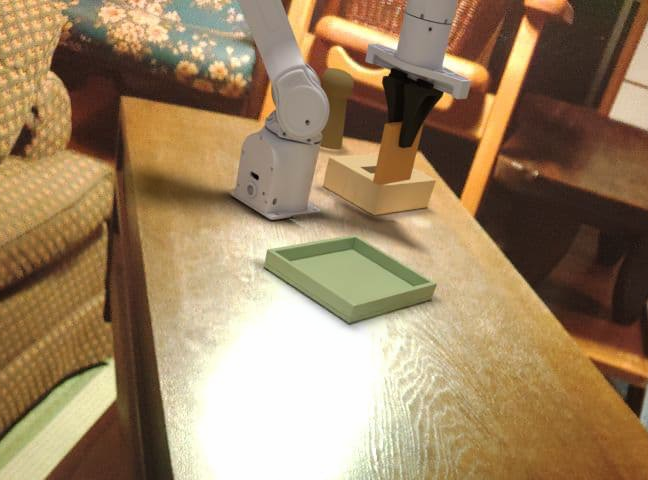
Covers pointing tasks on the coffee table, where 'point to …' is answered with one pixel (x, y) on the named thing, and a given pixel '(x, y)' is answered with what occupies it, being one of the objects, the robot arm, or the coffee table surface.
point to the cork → (335, 105)
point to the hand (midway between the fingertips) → (400, 144)
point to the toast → (395, 156)
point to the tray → (350, 276)
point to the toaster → (375, 186)
